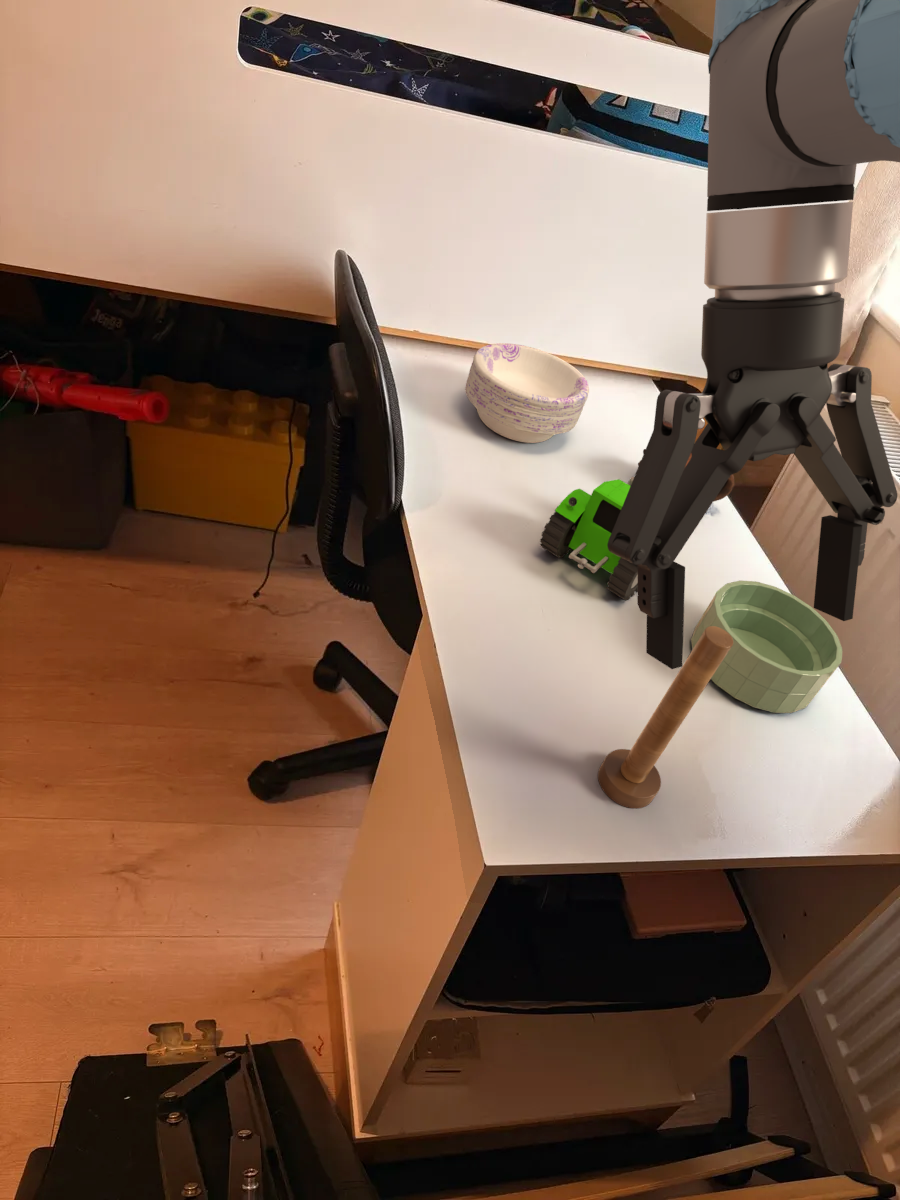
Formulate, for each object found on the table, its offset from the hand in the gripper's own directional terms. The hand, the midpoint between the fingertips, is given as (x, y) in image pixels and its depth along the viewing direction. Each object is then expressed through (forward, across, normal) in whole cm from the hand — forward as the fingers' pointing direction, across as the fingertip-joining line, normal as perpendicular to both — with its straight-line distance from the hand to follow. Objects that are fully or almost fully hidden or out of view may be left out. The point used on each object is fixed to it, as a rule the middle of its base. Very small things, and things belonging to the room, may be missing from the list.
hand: (751, 636), depth 58 cm
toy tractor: (+9, -13, -39) cm, 42 cm away
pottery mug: (+8, -30, -49) cm, 58 cm away
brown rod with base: (+18, +1, -12) cm, 22 cm away
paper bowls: (-2, -15, -64) cm, 65 cm away
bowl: (+18, -20, -23) cm, 35 cm away
